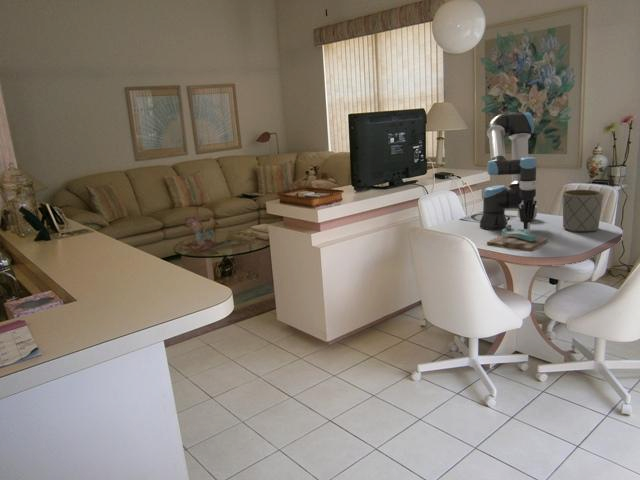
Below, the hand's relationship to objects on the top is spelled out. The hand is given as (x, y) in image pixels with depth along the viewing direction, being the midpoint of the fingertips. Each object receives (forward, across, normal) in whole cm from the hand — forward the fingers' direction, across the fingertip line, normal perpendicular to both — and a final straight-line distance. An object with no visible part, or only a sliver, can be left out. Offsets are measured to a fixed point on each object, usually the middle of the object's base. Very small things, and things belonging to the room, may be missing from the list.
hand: (526, 234), depth 253 cm
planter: (+4, +38, -8) cm, 39 cm away
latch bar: (+1, -2, +3) cm, 4 cm away
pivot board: (+3, -6, +1) cm, 7 cm away
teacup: (+4, +42, +26) cm, 50 cm away
